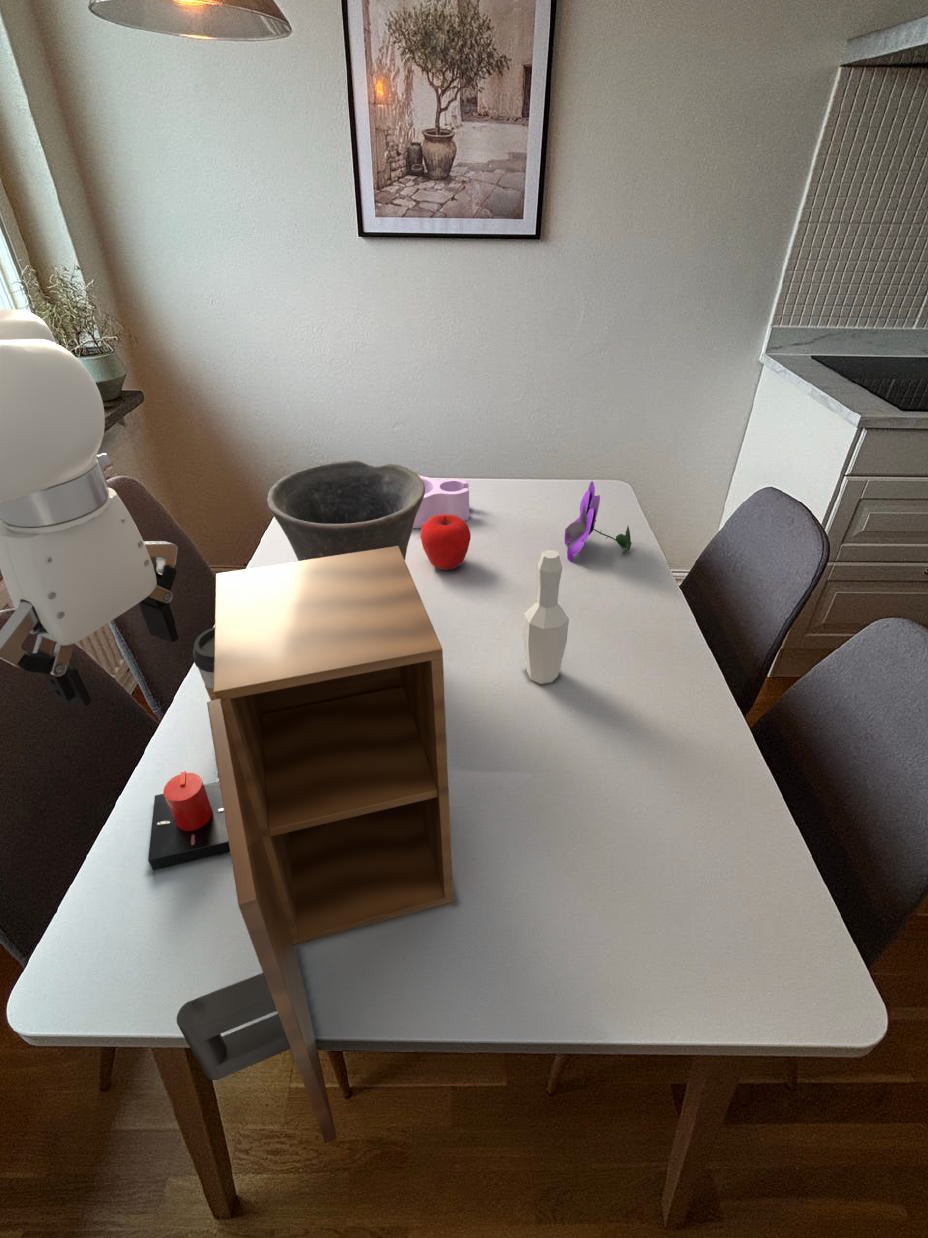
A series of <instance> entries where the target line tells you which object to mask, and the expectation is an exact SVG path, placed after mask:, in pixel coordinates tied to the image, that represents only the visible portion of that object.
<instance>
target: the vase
mask: <svg viewBox="0 0 928 1238" xmlns="http://www.w3.org/2000/svg"><path fill="white" fill-rule="evenodd" d="M419 476H420V475H419V474H418V473H417V472H415V471H413V470H411V469H409V468H408V467H406V466H404V465H401V464H398V463H397V464H395V463H387V464H384V465H380V466H375V465H369V464H368V463H365V462H362V461H360V460H342V461H340V460H339V461H332V462H328V463H321V464H317V465H314V466H310V467H305V468H303V469H301V470H297V471H295V472H292V473H290V474H288V475H286V476H283V477H282V478H280V479H279V480H277V481H276V482H275V483H274V485H273V486H272V487H271V488H270V489H269V491H268V494H267V498H266V502H267V507H268V509H269V511H270V513H271V514H272V516H273V517H274V519H275V520H276V522H277V524H279V526H280V528H281V530H282V531H283V533H284V535H285V536H286V538H287V540H288V542H289V544H290V546H291V548H292V550H293V552H294V555H295V557H296V559H297V561H302V560H309V559H315V558H322V557H328V556H335V555H341V554H348V553H355V552H361V551H368V550H374V549H381V548H387V547H394V546H399V548H400V551H401V553H402V555H403V558H404V560H405V561H406V557H407V553H408V552H407V551H408V546H409V542H410V540H411V539H410V538H411V536H412V532H413V529H414V528H413V524H414V520H415V517H416V514H417V512H418V510H419V508H420V505H421V503H422V500H423V497H424V494H425V485H424V482H423V480H422V479H421V478H420V477H419Z"/></svg>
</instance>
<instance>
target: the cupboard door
mask: <svg viewBox="0 0 928 1238" xmlns="http://www.w3.org/2000/svg"><path fill="white" fill-rule="evenodd" d="M206 706H207V712H208V718H209V725H210V731H211V738H212V745H213V751H214V757H215V763H216V770H217V776H218V782H219V783H220V790H221V796H222V803H223V809H224V815H225V822H226V828H227V835H228V841H229V848H230V852H229V853H230V859H231V866H232V872H233V873H232V874H233V879H234V885H235V892H236V899H237V904H238V908H239V910H240V913H241V916H242V919H243V921H244V924H245V928H246V930H247V932H248V935H249V938H250V941H251V944H252V947H253V949H254V952H255V954H256V957H257V960H258V963H259V965H260V969H261V971H262V972H260V973H258V974H255V975H253V976H250V977H248V978H244V979H242V980H240V981H237V982H235V983H232V984H228V985H227V986H224V987H222V988H219V989H216V990H214V991H212V992H208V993H205V994H203V995H201V996H199V997H196V998H193V999H191V1000H188V1001H186V1002H185V1003H184V1004H183V1005H182V1006H181V1007H180V1009H179V1010H178V1012H177V1014H176V1024H177V1026H178V1029H179V1031H180V1032H181V1034H182V1035H183V1037H184V1039H185V1040H186V1042H187V1044H188V1047H189V1049H190V1050H191V1051H192V1053H193V1055H194V1057H195V1059H196V1060H197V1062H198V1064H199V1066H200V1068H201V1070H202V1072H203V1074H204V1075H205V1077H206V1078H207V1079H208V1080H211V1081H218V1080H221V1079H224V1078H225V1077H228V1076H230V1075H233V1074H235V1073H237V1072H239V1071H242V1070H245V1069H247V1068H249V1067H251V1066H253V1065H254V1066H255V1065H256V1064H259V1063H261V1062H263V1061H265V1060H268V1059H270V1058H273V1057H275V1056H277V1055H279V1054H282V1053H285V1052H287V1051H289V1050H291V1054H292V1056H293V1058H294V1059H293V1060H294V1062H295V1064H296V1067H297V1070H298V1072H299V1076H300V1078H301V1080H302V1083H303V1087H304V1089H305V1092H306V1094H307V1098H308V1100H309V1102H310V1106H311V1108H312V1110H313V1114H314V1116H315V1119H316V1121H317V1124H318V1128H319V1130H320V1133H321V1135H322V1138H323V1141H324V1143H325V1144H328V1143H330V1142H332V1141H334V1140H336V1139H337V1132H336V1127H335V1123H334V1119H333V1118H334V1117H333V1116H332V1115H333V1114H332V1110H331V1104H330V1100H329V1096H328V1091H327V1087H326V1083H325V1077H324V1073H323V1069H322V1068H323V1067H322V1063H321V1059H320V1054H319V1050H318V1049H319V1048H318V1046H317V1041H316V1036H315V1032H314V1027H313V1021H312V1019H311V1014H310V1009H309V1003H308V1000H307V994H306V989H305V986H304V982H303V981H304V980H303V977H302V972H301V967H300V963H299V959H298V954H297V950H296V946H295V945H294V942H293V939H292V936H291V932H290V929H289V926H288V922H287V919H286V916H285V912H284V909H283V906H282V902H281V899H280V896H279V892H278V889H277V886H276V882H275V879H274V876H273V872H272V869H271V866H270V862H269V859H268V855H267V852H266V849H265V845H264V842H263V839H262V835H261V832H260V829H259V825H258V822H257V819H256V815H255V812H254V809H253V805H252V802H251V799H250V795H249V792H248V789H247V785H246V782H245V779H244V775H243V772H242V769H241V765H240V762H239V759H238V755H237V752H236V749H235V745H234V742H233V739H232V735H231V732H230V729H229V725H228V722H227V719H226V715H225V712H224V709H223V705H222V702H221V699H217V700H213V701H211V700H210V701H207V702H206ZM273 1013H275V1014H273ZM271 1014H272V1015H271ZM268 1015H270V1016H268ZM265 1016H267V1017H265ZM263 1017H265V1018H263ZM260 1018H262V1019H260ZM258 1019H260V1020H258ZM255 1020H258V1021H255ZM253 1021H255V1022H253ZM251 1022H253V1023H251ZM248 1023H250V1024H248ZM246 1024H248V1025H246ZM243 1025H245V1026H243ZM242 1026H243V1027H242ZM239 1027H240V1028H239ZM235 1028H238V1029H236V1030H233V1029H235ZM231 1030H233V1031H231ZM229 1031H231V1032H229ZM226 1032H228V1033H226ZM223 1033H226V1034H223ZM222 1034H223V1035H222Z"/></svg>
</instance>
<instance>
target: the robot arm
mask: <svg viewBox="0 0 928 1238" xmlns="http://www.w3.org/2000/svg"><path fill="white" fill-rule="evenodd" d="M105 414H106V413H105V408H104V402H103V399H102V396H101V392H100V390H99V388H98V385H97V383H96V381H95V379H94V378H93V376H92V374H91V373H90V371H89V370H88V369H87V368H86V366H85V365H84V364H83V363H82V361H80V360H79V359H78V358H77V357H76V356H75V355H74V354H73V353H72V352H71V351H69V350H67V348H65V347H63V346H62V345H60V344H57V342H56V340H55V337H54V334H53V332H52V330H51V329H50V327H49V326H48V324H47V323H46V322H45V321H44V320H43V319H41V317H39V316H37V315H36V314H34V313H32V312H30V311H26V310H21V309H14V308H0V573H1V576H2V579H3V582H4V584H5V587H6V590H7V593H8V595H9V598H10V601H11V602H12V605H13V609H14V611H13V613H12V615H11V616H10V617H9V618H8V620H7V621H6V622H5V623H4V624H3V626H2V628H1V629H0V659H1V660H3V661H5V662H6V663H9V664H10V665H12V666H14V667H17V668H19V669H21V670H24V672H25V671H26V672H29V673H37V674H43V675H44V677H45V679H46V681H47V683H48V684H49V687H50V689H51V691H52V693H53V694H54V696H55V697H56V698H57V699H58V700H59V701H61V702H63V703H69V702H70V703H72V704H74V705H77V706H79V707H81V708H83V709H86V708H87V707H88V706H90V705H91V702H92V699H91V697H90V695H89V692H88V690H87V688H86V686H85V684H84V682H83V679H82V678H81V675H80V673H79V670H77V668H75V667H74V666H71V665H70V662H71V661H70V660H71V658H72V655H73V651H74V648H75V644H77V643H78V642H80V641H82V640H84V639H86V638H87V637H89V636H91V635H92V634H94V633H95V632H97V631H98V630H99V629H101V628H103V627H104V626H107V624H109V623H111V622H112V621H114V620H115V619H117V618H118V617H120V616H122V615H123V614H124V613H126V612H127V611H129V610H130V609H132V608H133V607H135V606H136V605H139V608H140V611H141V614H142V616H143V620H144V622H145V625H146V628H147V630H148V633H149V634H150V635H151V636H153V637H155V638H158V639H161V640H163V641H166V642H168V643H175V642H176V641H178V640H179V639H180V637H179V634H178V632H177V631H178V630H177V628H176V620H175V617H174V614H173V612H172V608H171V605H170V603H171V602H172V601H173V597H174V594H173V592H172V591H171V590H172V588H173V584H174V582H175V579H176V577H177V572H178V571H177V569H176V568H175V566H176V564H177V558H178V545H177V544H175V543H172V542H168V541H166V540H144V539H143V537H142V534H141V533H140V530H139V529H138V527H137V524H136V523H135V521H134V519H133V517H132V515H131V513H130V511H129V510H128V508H127V507H126V505H125V504H124V502H123V501H122V499H121V498H120V496H119V494H118V493H117V492H116V490H114V489H113V488H111V487H109V484H108V481H107V478H106V476H105V474H106V473H107V471H109V470H111V469H113V467H114V464H113V461H112V459H111V457H110V456H109V455H108V454H107V453H105V452H101V453H98V452H99V450H100V449H101V446H102V442H103V440H104V435H105V427H106V417H105V416H106V415H105ZM151 558H155V563H156V564H155V565H154V564H153V561H152V559H151ZM30 634H32V635H36V634H37V636H36V639H35V643H34V647H33V649H32V651H26V650H24V649H23V647H22V646H23V643H24V641H25V640H26V639H27V637H28V636H29V635H30ZM54 645H55V646H54Z"/></svg>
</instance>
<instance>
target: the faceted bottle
mask: <svg viewBox="0 0 928 1238" xmlns="http://www.w3.org/2000/svg"><path fill="white" fill-rule="evenodd" d="M536 571H537V572H536V573H537V593H536V602H535V603H534V604H532V606H530V607H529V608H528V610H526V611H525V612H524V613H523V633H522V637H523V645H524V654H525V663H526V671H527V674H528V677H529V679H530V680H531V681H533V682H535V683H537V684H539V685H543V684H544V685H545V684H551V683H553V682H554V681H555V680H556V679H557V678H558V677H559V675H560V670H561V666H562V662H563V658H564V654H565V650H566V646H567V642H568V632H569V622H570V621H569V620H570V618H569V616H568V615H567V613H566V612H565V610H564V609H563V608H562V606H561V605H560V604H559V590H560V583H561V577H562V573H563V564H562V560H561V556H560V554H559V552H558V551H557V550H554V549H547V550H544V551H543V552H541V554H540V556H539V559H538V562H537V564H536Z"/></svg>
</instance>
